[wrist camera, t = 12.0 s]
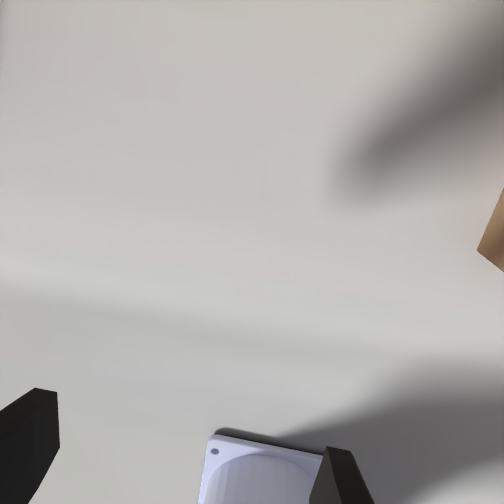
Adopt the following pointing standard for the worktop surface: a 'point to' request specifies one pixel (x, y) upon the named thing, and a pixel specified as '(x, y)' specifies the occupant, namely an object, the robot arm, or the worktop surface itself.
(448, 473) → the worktop surface
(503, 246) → the brown wooden frame
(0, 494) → the robot arm
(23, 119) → the worktop surface
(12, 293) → the worktop surface
